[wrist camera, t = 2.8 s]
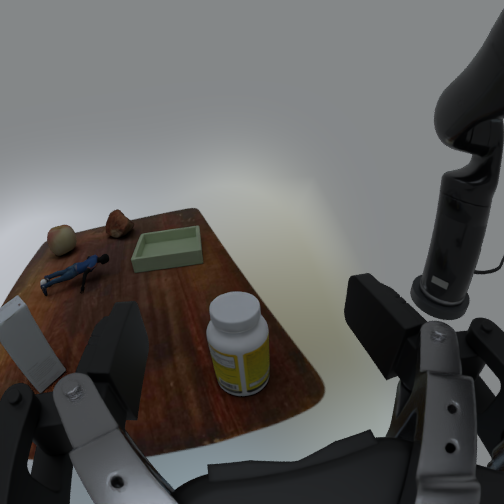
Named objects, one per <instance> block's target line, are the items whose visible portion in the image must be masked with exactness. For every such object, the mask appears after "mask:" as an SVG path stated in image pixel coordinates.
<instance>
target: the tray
mask: <svg viewBox="0 0 504 504" xmlns="http://www.w3.org/2000/svg"><path fill="white" fill-rule="evenodd" d="M131 261H132V265H133V268H134V272H135V273H137V272H144V271H152V270H159V269H166V268H173V267H181V266H188V265H195V264H202V263H203V256H202V247H201V238H200V230H199V226H193V227H186V228H179V229H172V230H165V231H158V232H151V233H145V234H141V236H140V238H139V241H138V243H137V246H136V248H135V251H134V254H133V256H132V259H131Z"/></svg>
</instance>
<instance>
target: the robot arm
mask: <svg viewBox="0 0 504 504" xmlns="http://www.w3.org/2000/svg"><path fill="white" fill-rule="evenodd" d="M503 118H504V9H503V10H502V12H501V14H500V16H499V17H498V19H497V21H496V22H495V24H494V26H493V28H492V29H491V31H490V33H489V35H488V37H487V39H486V41H485V42H484V44H483V46H482V47H481V49H480V50H479V52H478V53H477V54H476V56H475V57H474V58H473V60H472V61H471V63H470V64H469V65H468V66H467V68H466V69H465V70H464V71H463V72H462V73H461V74H460V75H459V76H458V77H457V78H456V79H455V80H454V81H453V82H452V83H451V84H450V85H449V86H448V87H447V88H446V89H445V90H444V91H443V93H442V94H441V96H440V98H439V100H438V102H437V105H436V108H435V114H434V125H435V130H436V133H437V135H438V137H439V139H440V140H441V142H443V143H444V144H445V145H446V146H448V147H450V148H452V149H454V150H458V151H462V152H466V153H470V154H472V158H471V161H470V163H469V164H468V165H466V166H465V167H463V168H461V169H458V170H453V171H448V172H446V173H444V175H443V176H442V180H441V187H440V195H439V201H438V208H437V214H436V219H435V225H434V230H433V234H432V239H431V244H430V248H429V252H428V256H427V260H426V264H425V268H424V271H423V275H422V277H421V280H420V283H419V288H420V291H421V293H422V294H423V295H424V296H425V297H426V298H427V299H428V300H430V301H431V302H433V303H435V304H438V305H440V306H444V307H456V306H459V305H461V304H462V303H463V301H464V298H465V295H466V293H467V290H468V288H469V285H470V282H471V279H472V277H473V274H488V273H493V272H496V271H498V270H499V269H500V268H501V266H502V265H503V262H504V256H503V258H502V260H501V263H500V265H499V266H498V267H497V268H495V269H492V270H487V271H477V270H475V268H476V265H477V262H478V259H479V255H480V252H481V246H482V243H483V239H484V235H485V231H486V227H487V222H488V218H489V213H490V208H491V202H492V198H493V195H494V192H495V190H496V188H497V185H498V179H499V173H500V167H501V159H502V153H503V144H504V124H503ZM344 315H345V320H346V322H347V324H348V326H349V327H350V329H351V330H352V331H353V333H354V334H355V335H356V337H357V338H358V340H359V341H360V343H361V344H362V346H363V347H364V348H365V350H366V351H367V353H368V354H369V355H370V357H371V358H372V360H373V361H374V363H375V364H376V366H377V367H378V369H379V370H380V372H381V373H382V375H383V376H384V377H385V379H386V380H388V379H390V378H393V377H396V376H398V377H399V378H400V381H399V383H398V386H397V392H396V398H395V404H394V410H393V415H392V420H391V424H390V428H389V430H388V432H387V434H386V437H378V438H377V437H376V438H375V437H374V435H373V433H372V431H371V430H367V431H364V432H362V433H359V434H356V435H353V436H350V437H347V438H344V439H342V440H338V441H335V442H333V443H331V444H330V445H328V446H326V447H324V448H323V449H320V450H319V451H317V452H315V453H313V454H311V455H309V456H307V457H305V458H303V459H301V460H299V461H293V462H274V461H253V460H249V461H242V462H233V463H222V464H208V465H207V466H208V474H206V475H203V476H200V477H197V478H195V479H192V480H190V481H188V482H186V483H184V484H183V485H181V486H180V487H178V488H177V489H176V490H174V489H173V488H172V487H171V486H170V484H169V483H167V481H166V480H165V479H164V478H163V477H162V476H161V475H160V474H159V473H158V471H157V470H156V469H155V468H154V467H153V466H152V464H151V463H150V462H149V461H148V459H147V458H146V457H145V456H144V454H143V453H142V452H141V450H140V449H139V448H138V446H137V445H136V444H135V442H134V441H133V440H132V438H131V437H130V435H129V434H128V432H127V431H126V430H125V422H126V420H137V418H138V410H139V403H140V396H141V390H142V384H143V378H144V372H145V366H146V361H147V356H148V350H149V343H148V336H147V333H146V330H145V327H144V324H143V320H142V317H141V314H140V311H139V308H138V305H137V303H136V302H135V301H130V302H117V303H115V304H114V307H113V309H112V311H111V313H110V315H109V316H106V317H104V318H103V319H102V320H101V321H100V322H99V323H98V324H97V325H96V326H95V328H94V330H93V332H92V335H91V336H92V337H90V339H89V341H88V345H87V346H86V348H85V350H84V353H83V355H82V357H81V360H80V362H79V365H78V367H77V369H76V372H75V373H72V374H69V375H66V376H65V377H63V378H62V379H60V380H59V381H58V383H57V384H56V386H55V387H54V390H53V392H47V393H42V394H36V395H35V394H34V392H33V391H32V390H31V388H30V387H29V386H28V385H26V384H24V383H18V384H14V385H12V386H11V387H9V388H8V389H7V390H6V391H5V393H4V394H3V396H2V398H1V401H0V504H70V490H71V478H72V470H73V466H74V468H75V469H76V471H77V474H78V475H79V477H80V479H81V481H82V483H83V485H84V486H85V488H86V490H87V492H88V494H89V495H90V497H91V499H92V500H93V502H94V503H95V504H504V332H503V331H502V330H501V329H500V328H499V327H498V326H497V325H496V324H495V323H494V322H492V321H491V320H489V319H486V318H475V319H473V320H472V322H471V324H470V327H469V329H468V331H460V332H455V331H454V329H453V328H452V327H450V326H449V325H447V324H445V323H443V322H439V321H429V322H427V321H426V320H425V319H424V318H423V317H422V316H421V315H420V314H419V313H418V312H417V311H416V310H415V309H414V308H413V307H411V306H410V305H409V304H408V303H406V301H405V300H404V299H403V298H402V297H400V295H399V294H397V292H395V291H394V290H393V289H392V288H390V287H388V286H386V285H384V284H382V283H380V282H379V281H377V280H376V279H375V278H374V277H373V276H372V275H371V274H369V273H366V274H360V275H354V276H351V277H350V278H349V281H348V288H347V296H346V302H345V308H344ZM485 364H487V365H488V367H489V368H490V369H491V370H492V371H493V372H494V374H495V375H496V376H497V377H498V378H499V380H500V383H501V389H500V392H499V393H498V395H497V396H496V397H495V395H494V394H493V393H492V392H491V390H490V389H489V387H488V386H487V385H486V384H485V382H484V381H483V380H482V379H481V377H480V376H479V374H480V372H481V371H482V369H483V367H484V366H485ZM477 434H478V436H479V437H480V439H481V441H482V442H483V444H484V445H485V447H486V449H487V451H488V452H489V454H490V456H491V458H492V460H491V461H490V462H489V463H488V465H487V467H484V466H480V465H477V464H476V457H477ZM32 442H34V443H35V444H36V445H37V447H36V451H35V456H34V460H33V466H32V471H31V475H30V473H29V471H28V468H27V462H28V457H29V452H30V448H31V444H32Z"/></svg>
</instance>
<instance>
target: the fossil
mask: <svg viewBox="0 0 504 504" xmlns="http://www.w3.org/2000/svg"><path fill="white" fill-rule="evenodd" d="M133 226H134V223H133V222H131V221H130V220H129V219H128V218H127V217H125V216H124V214H123V213H122V212H121V211H120V210H114V211H113V212H111V213H110V215H109V217H108V220H107V222H106V233H108V234H109V235H110V236H112V237H115V238H118V237H122V236H124V235H126V234H127V233H128V232H130V231H131V229H132V228H133Z"/></svg>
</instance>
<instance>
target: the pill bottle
mask: <svg viewBox="0 0 504 504" xmlns="http://www.w3.org/2000/svg"><path fill="white" fill-rule="evenodd" d="M209 311H210V318H211V321H210V322H209V324H208V327H207V340H208V344H209V348H210V352H211V357H212V361H213V365H214V369H215V373H216V377H217V380H218V383H219V385H220V386H221V388H222V389H223V390H225V391H226V392H228V393H230V394H232V395H236V396H248V395H252V394H255V393H257V392H259V391H260V390H261V389H263V388H264V386H265V385H266V384H267V382H268V379H269V331H268V325H267V323H266V321H265V319H264V318H263V317H262V316H261V312H260V304H259V301H258V300H257V298H256V297H254V296H253V295H251V294H249V293H245V292H229V293H225V294H222V295H220V296H218V297H217V298H215V299H214V300H213V301H212V303H211V304H210V308H209Z"/></svg>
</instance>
